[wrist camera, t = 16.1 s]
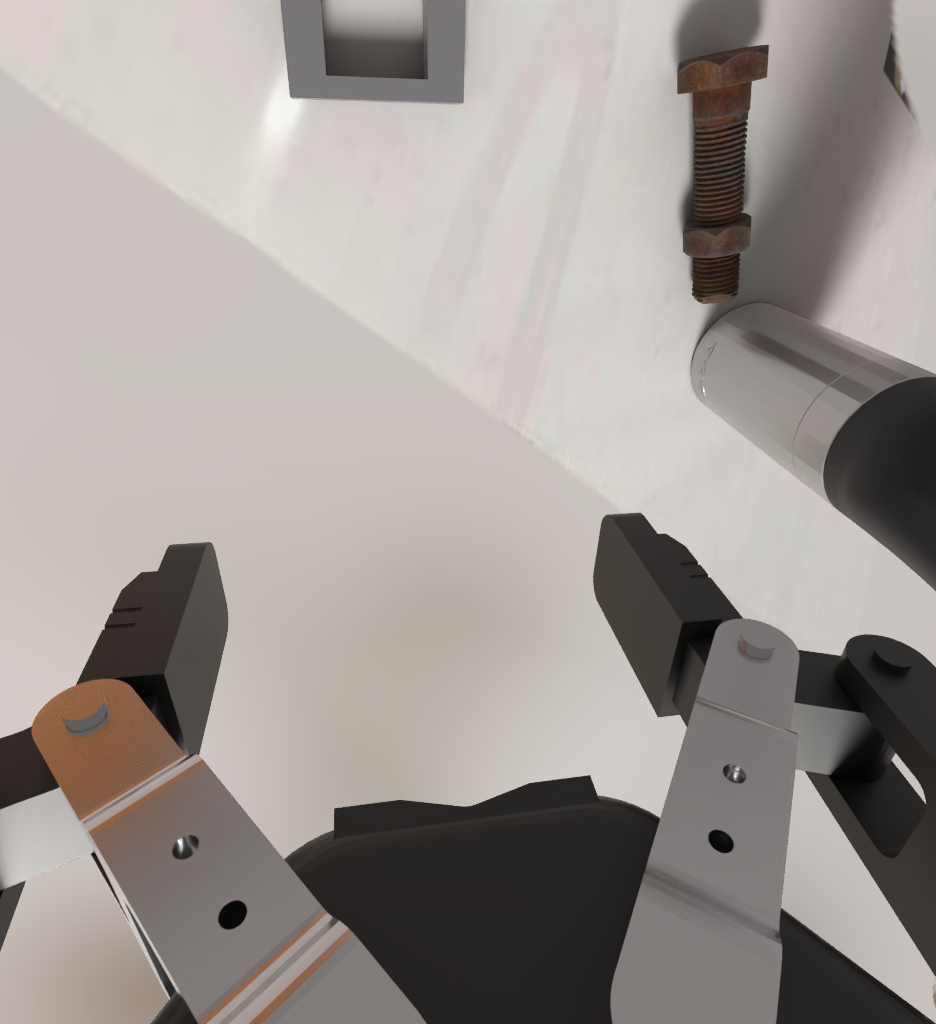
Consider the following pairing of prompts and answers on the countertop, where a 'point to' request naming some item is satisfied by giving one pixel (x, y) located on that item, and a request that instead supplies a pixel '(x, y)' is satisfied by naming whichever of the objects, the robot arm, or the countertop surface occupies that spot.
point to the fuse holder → (436, 87)
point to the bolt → (719, 166)
